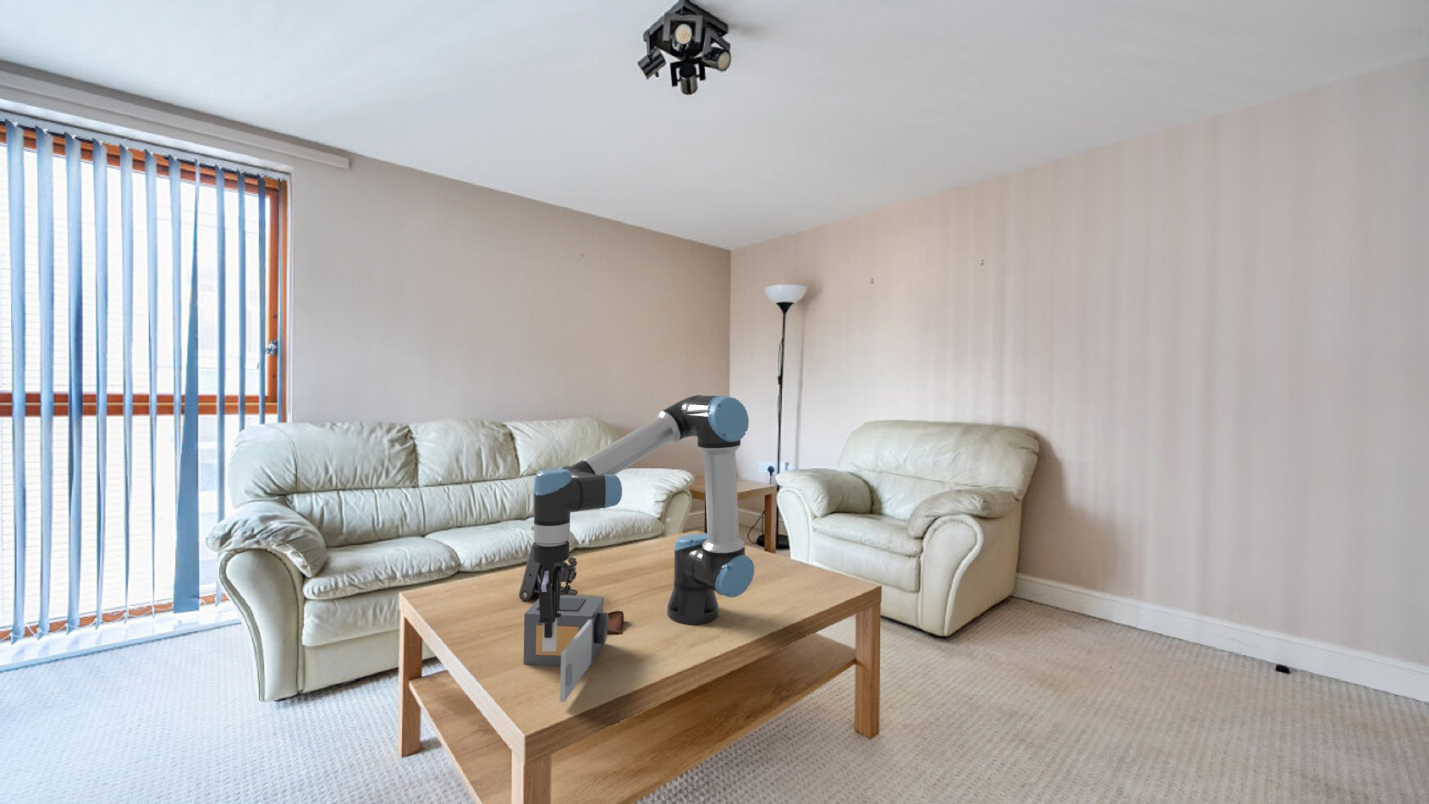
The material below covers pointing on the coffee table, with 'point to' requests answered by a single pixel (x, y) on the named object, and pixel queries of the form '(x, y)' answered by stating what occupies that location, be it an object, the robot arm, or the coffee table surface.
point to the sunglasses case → (615, 622)
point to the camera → (533, 579)
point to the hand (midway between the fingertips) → (549, 649)
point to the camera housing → (564, 628)
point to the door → (576, 659)
